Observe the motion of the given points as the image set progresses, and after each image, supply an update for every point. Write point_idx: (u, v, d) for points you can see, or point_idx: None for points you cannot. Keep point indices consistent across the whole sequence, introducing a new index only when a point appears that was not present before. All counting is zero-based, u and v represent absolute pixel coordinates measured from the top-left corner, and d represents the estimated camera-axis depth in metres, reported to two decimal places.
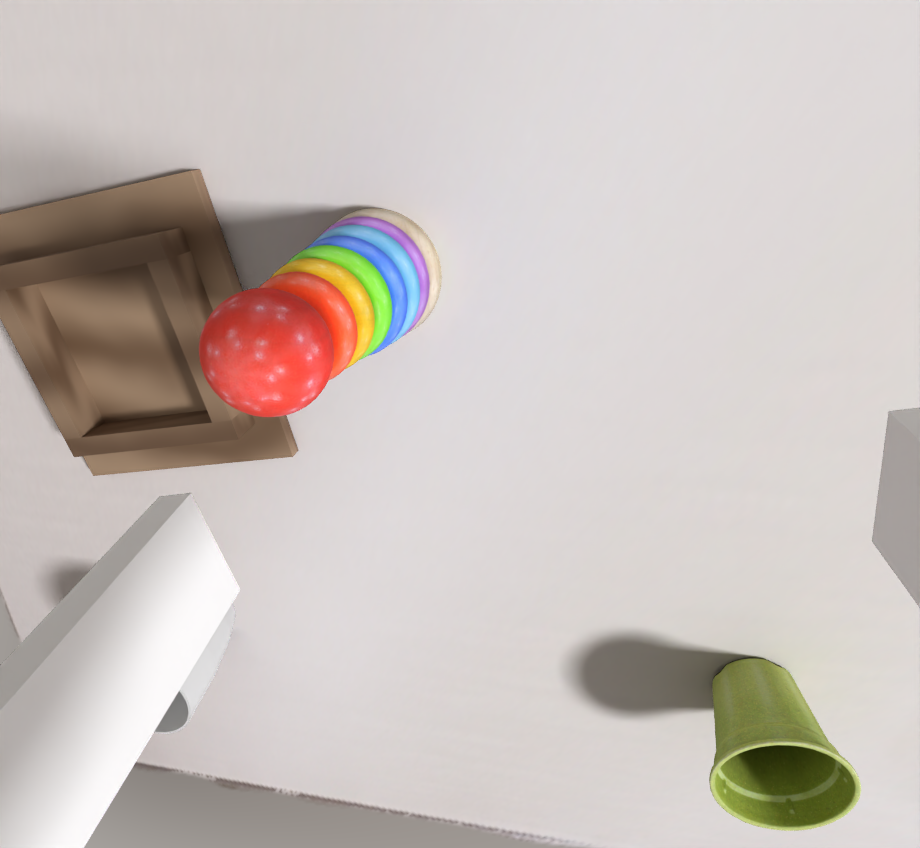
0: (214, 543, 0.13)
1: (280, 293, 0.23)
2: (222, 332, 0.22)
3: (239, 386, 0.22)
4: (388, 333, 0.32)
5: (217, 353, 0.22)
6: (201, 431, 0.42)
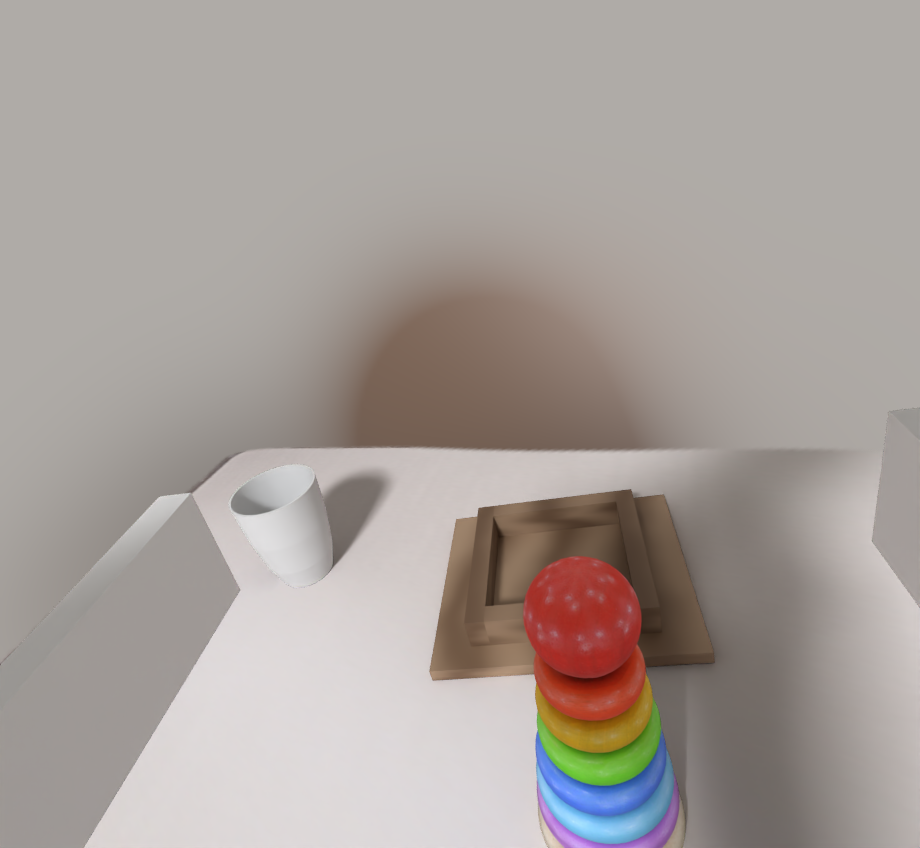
0: (214, 542, 0.13)
1: (637, 636, 0.25)
2: (611, 573, 0.25)
3: (564, 572, 0.25)
4: (559, 777, 0.29)
5: (594, 564, 0.26)
6: (478, 596, 0.47)
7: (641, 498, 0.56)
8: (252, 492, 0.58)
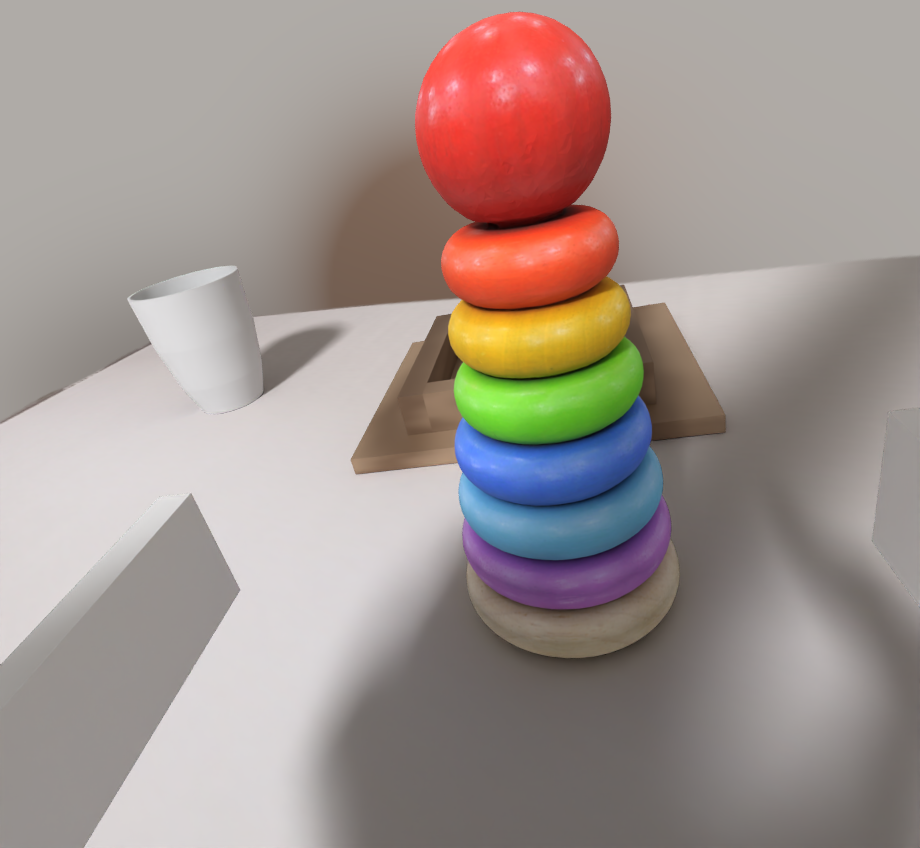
0: (214, 542, 0.13)
1: (601, 117, 0.14)
2: None
3: None
4: (482, 450, 0.18)
5: None
6: (421, 376, 0.36)
7: (636, 308, 0.46)
8: None
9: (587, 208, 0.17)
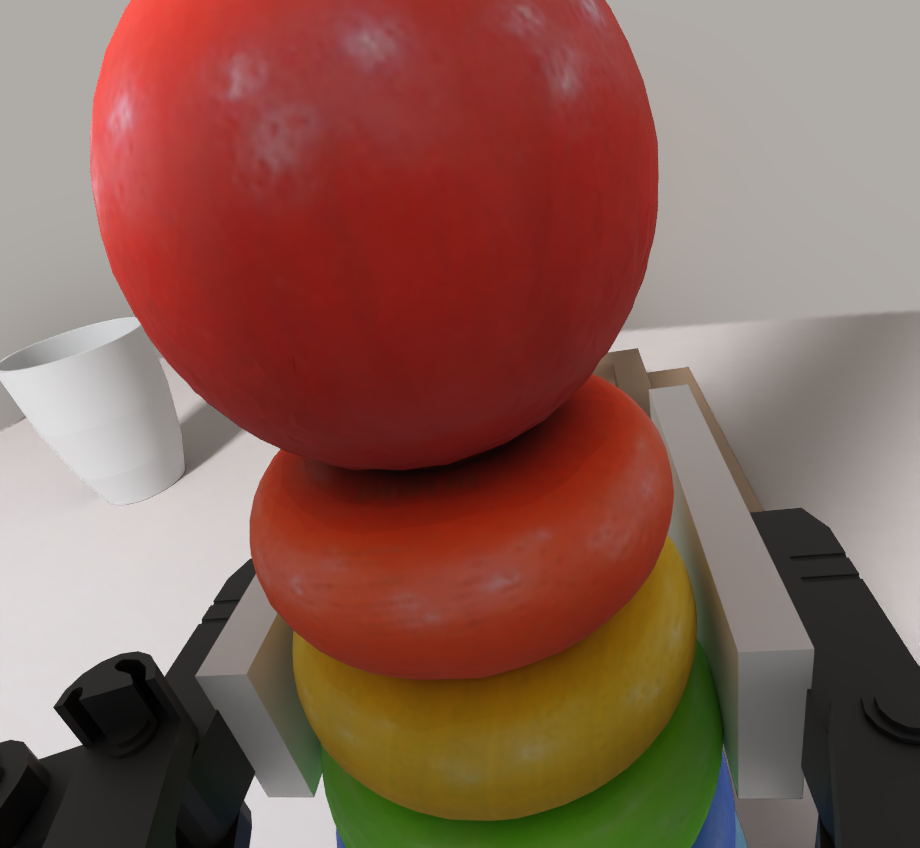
0: None
1: (636, 203, 0.05)
2: None
3: None
4: None
5: None
6: None
7: (652, 373, 0.36)
8: (55, 357, 0.38)
9: (594, 399, 0.07)
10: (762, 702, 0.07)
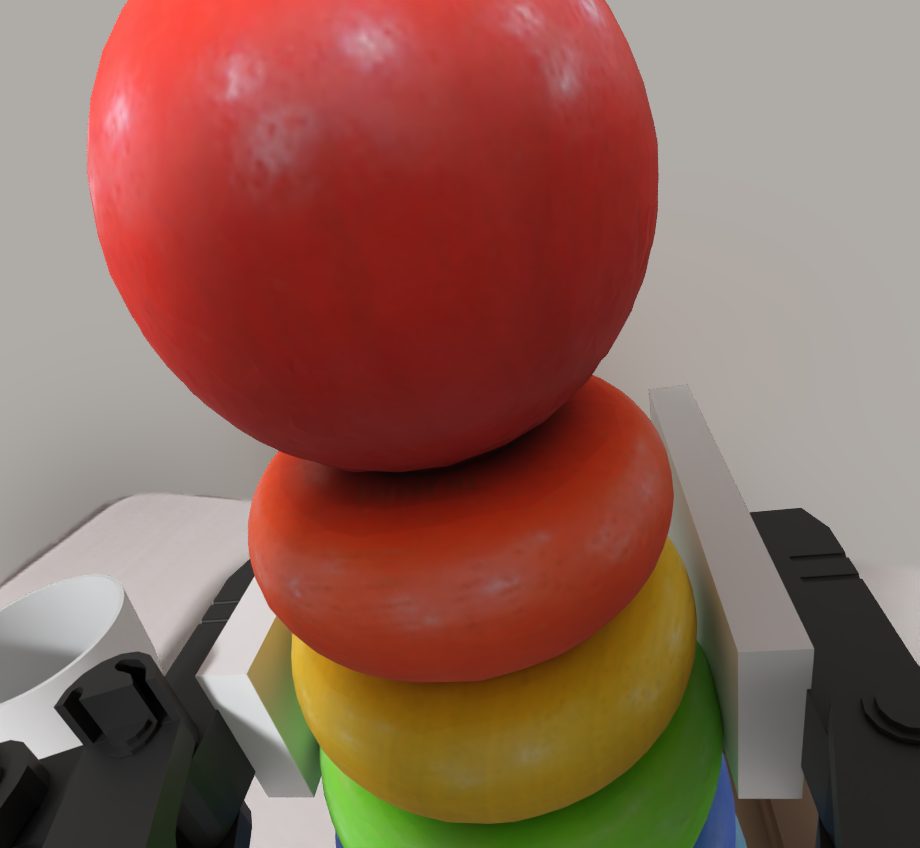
0: None
1: (635, 203, 0.04)
2: None
3: None
4: None
5: None
6: None
7: None
8: (16, 626, 0.30)
9: (593, 401, 0.07)
10: (762, 702, 0.07)
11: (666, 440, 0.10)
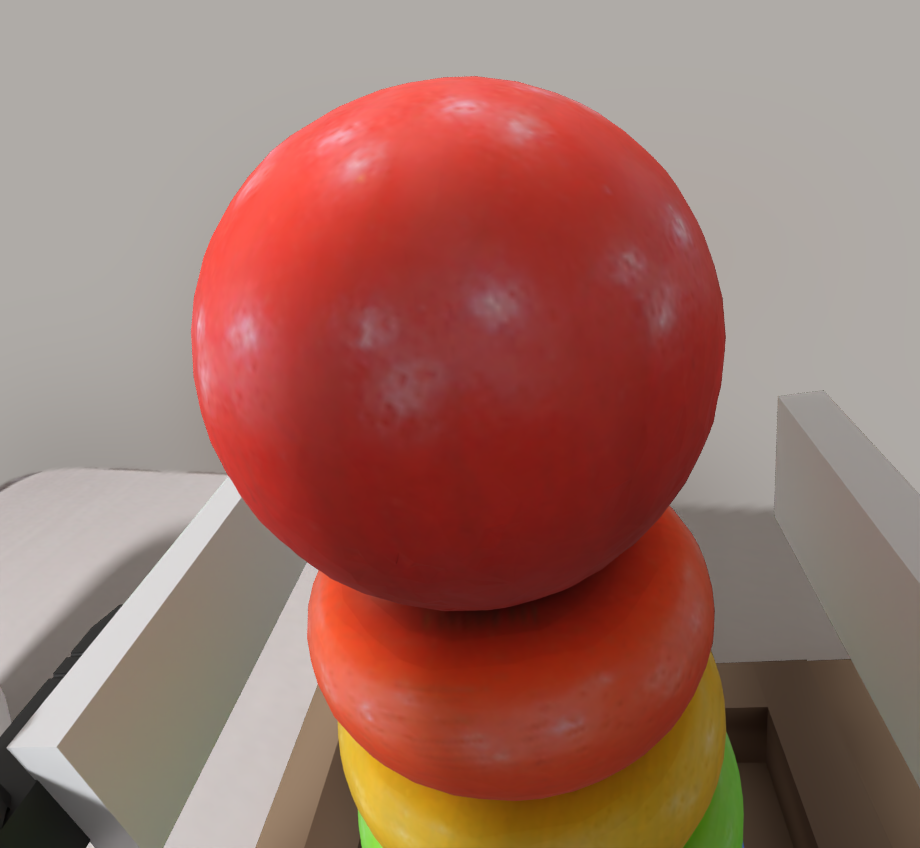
0: None
1: (711, 399, 0.05)
2: None
3: None
4: None
5: None
6: None
7: (813, 667, 0.20)
8: None
9: None
10: None
11: (823, 455, 0.09)
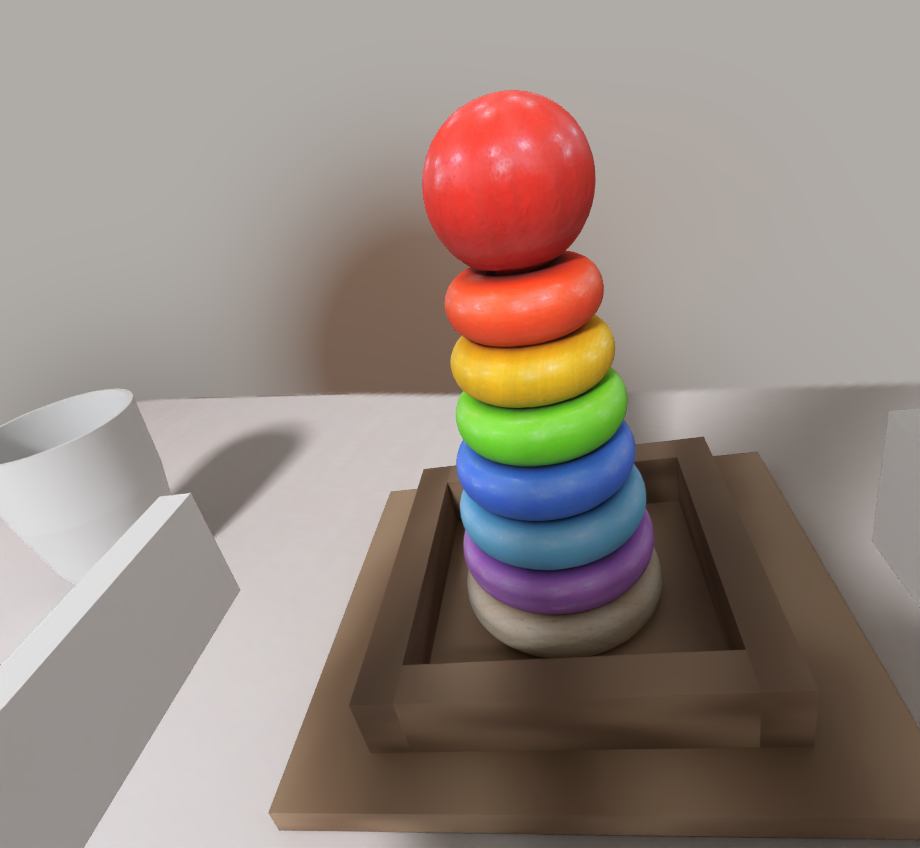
0: (214, 542, 0.13)
1: (586, 183, 0.16)
2: None
3: (479, 97, 0.17)
4: (482, 471, 0.20)
5: None
6: (393, 640, 0.22)
7: (715, 459, 0.31)
8: (34, 434, 0.34)
9: (575, 256, 0.19)
10: None
11: None
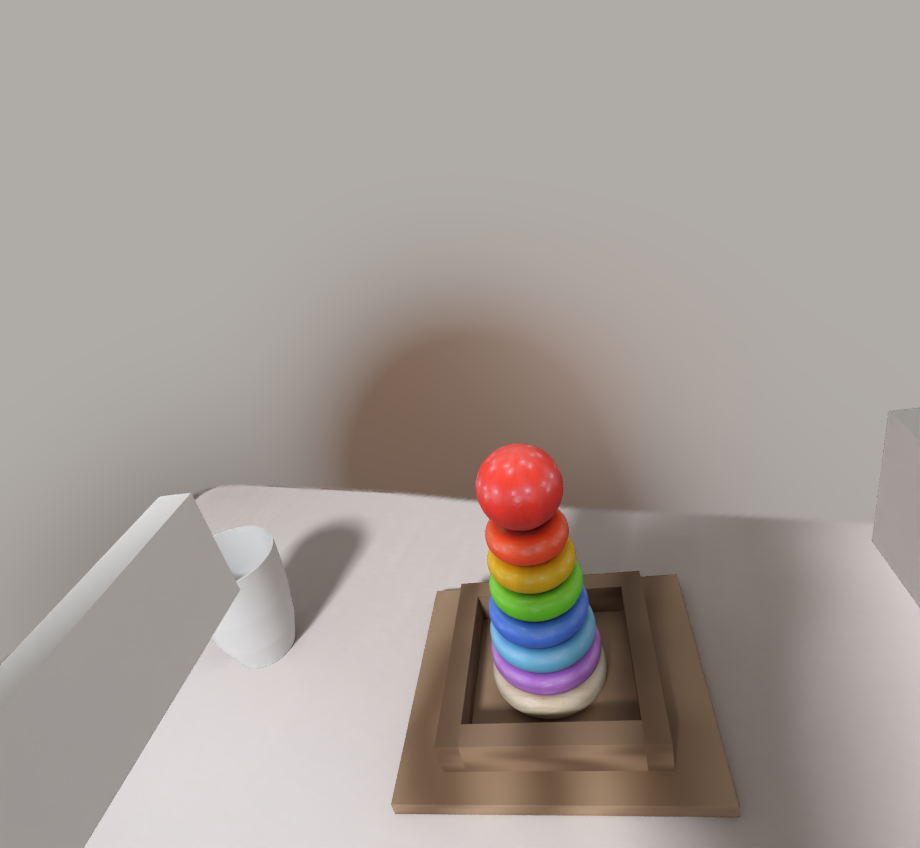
0: (214, 542, 0.13)
1: (557, 497, 0.34)
2: (540, 452, 0.34)
3: (505, 451, 0.34)
4: (504, 620, 0.38)
5: (528, 446, 0.34)
6: (454, 708, 0.39)
7: (650, 578, 0.48)
8: None
9: (554, 516, 0.36)
10: None
11: None
